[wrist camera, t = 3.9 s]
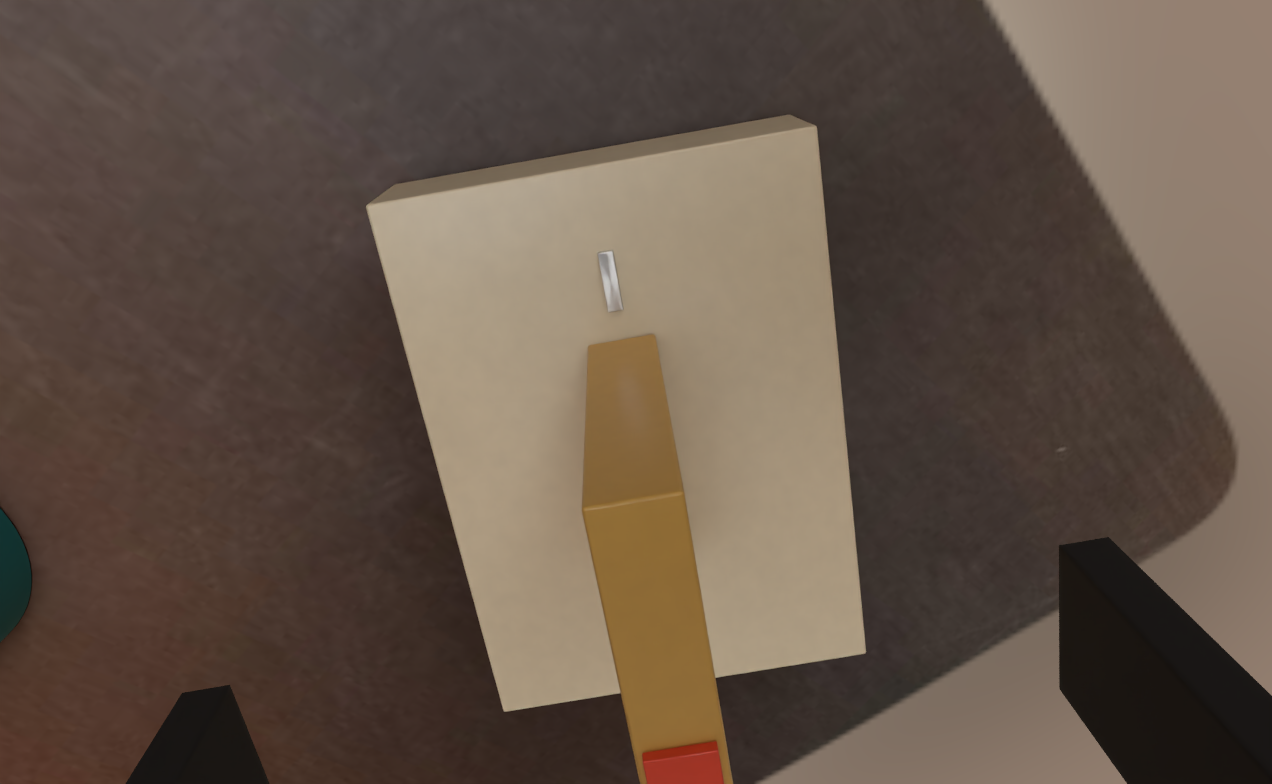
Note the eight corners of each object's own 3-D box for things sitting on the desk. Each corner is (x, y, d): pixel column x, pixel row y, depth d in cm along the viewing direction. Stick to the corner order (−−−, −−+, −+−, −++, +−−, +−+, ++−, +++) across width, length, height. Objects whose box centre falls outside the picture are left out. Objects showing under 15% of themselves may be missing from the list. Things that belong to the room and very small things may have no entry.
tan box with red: (587, 345, 22) (579, 516, 14) (654, 332, 22) (685, 498, 14) (630, 564, 24) (645, 817, 16) (692, 554, 24) (736, 802, 16)
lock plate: (392, 184, 23) (362, 206, 20) (790, 114, 23) (819, 125, 20) (512, 645, 28) (503, 716, 25) (840, 592, 28) (868, 658, 25)
